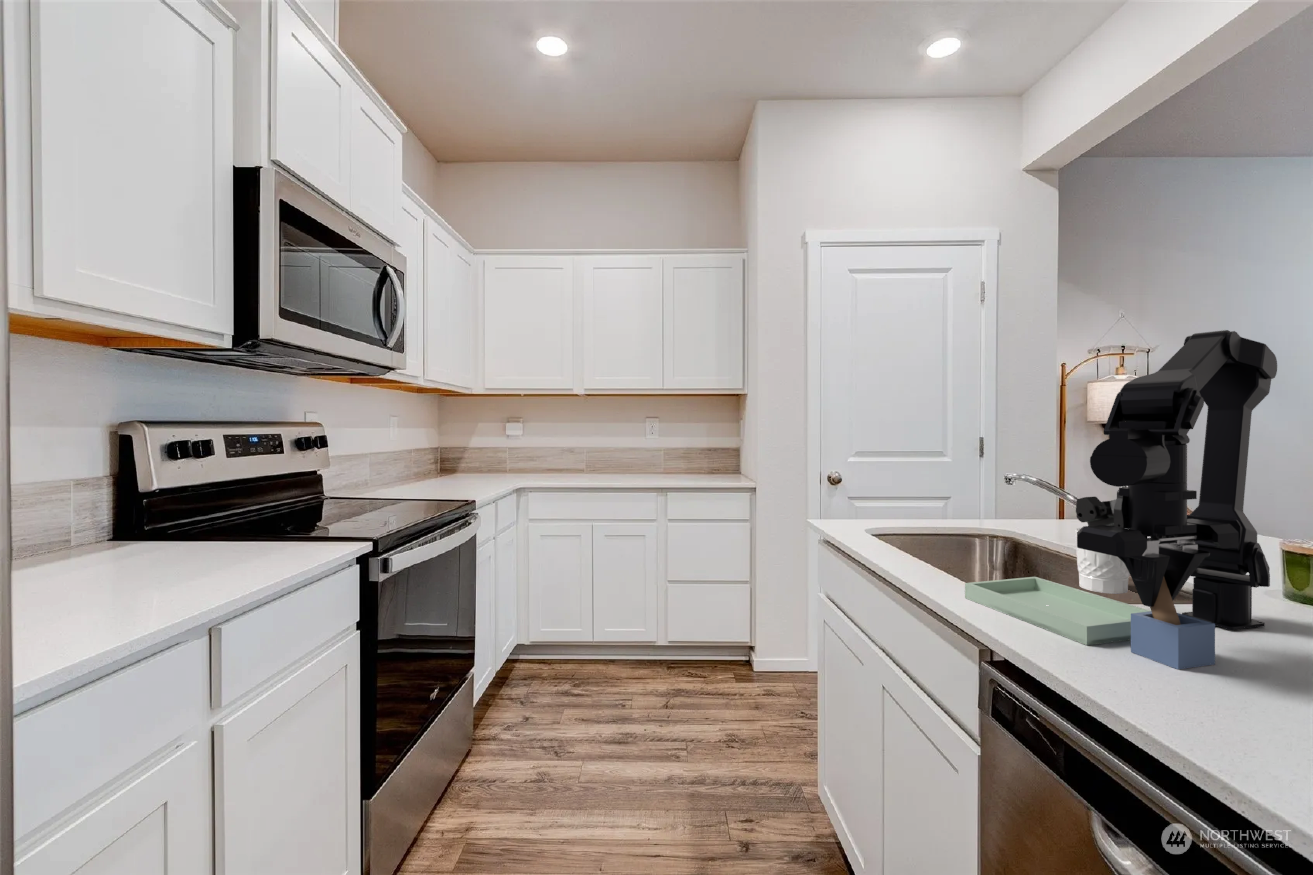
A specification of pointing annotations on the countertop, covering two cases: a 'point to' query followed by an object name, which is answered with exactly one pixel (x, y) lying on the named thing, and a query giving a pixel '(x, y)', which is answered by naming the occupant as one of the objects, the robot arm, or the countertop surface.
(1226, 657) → the countertop surface
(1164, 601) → the walnut dowel
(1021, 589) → the sage tray
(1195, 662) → the slate blue cup
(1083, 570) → the white cup
